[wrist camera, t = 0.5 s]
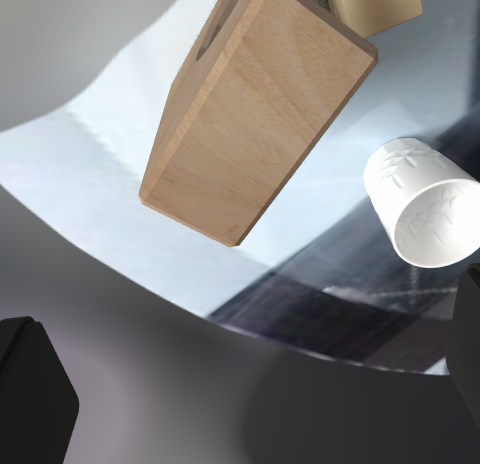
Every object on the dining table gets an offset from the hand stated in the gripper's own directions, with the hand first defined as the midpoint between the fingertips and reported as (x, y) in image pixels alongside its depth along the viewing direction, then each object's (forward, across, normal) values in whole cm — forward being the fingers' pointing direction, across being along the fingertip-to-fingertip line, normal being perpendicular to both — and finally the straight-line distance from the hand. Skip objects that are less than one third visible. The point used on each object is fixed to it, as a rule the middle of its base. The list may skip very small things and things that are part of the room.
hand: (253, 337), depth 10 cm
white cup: (+31, -14, +12) cm, 37 cm away
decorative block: (+31, 0, -1) cm, 31 cm away
